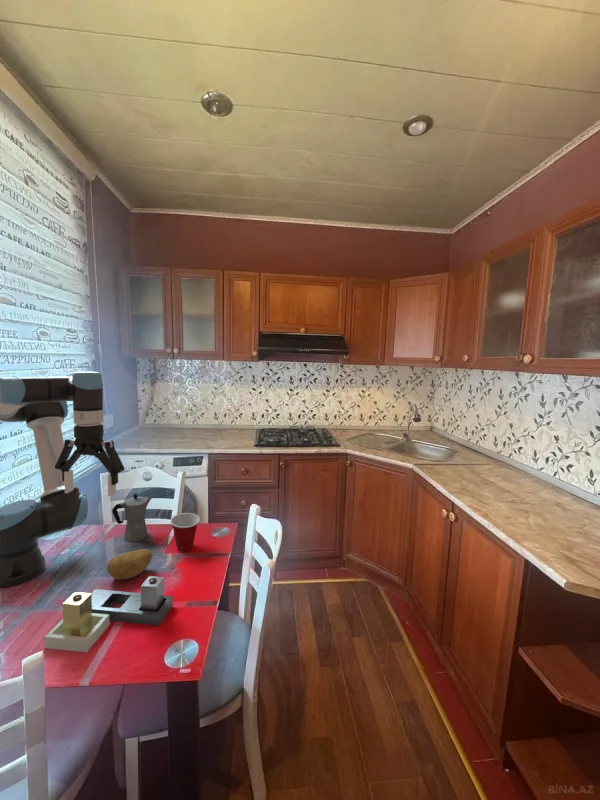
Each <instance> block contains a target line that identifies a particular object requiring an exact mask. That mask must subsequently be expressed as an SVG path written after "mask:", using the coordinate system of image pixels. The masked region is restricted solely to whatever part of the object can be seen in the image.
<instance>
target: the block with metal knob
mask: <svg viewBox="0 0 600 800" xmlns="http://www.w3.org/2000/svg"><path fill="white" fill-rule="evenodd" d="M62 619H63V630H64V635H67V636H77V637H85V636H86V635H87V634H88V633H89V632H90V630H91V629H92V592H80V591H79V592H78V591H75V592H74V593H72V594H71V595H70V596H69V597H68V598H67V599H66V600H65V601H64V602H63V603H62Z"/></svg>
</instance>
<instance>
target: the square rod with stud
mask: <svg viewBox="0 0 600 800" xmlns="http://www.w3.org/2000/svg"><path fill="white" fill-rule="evenodd" d="M140 593H141V611H151V612H158V611H159V610H160V608H161V607H162V605H163V604H164V595H165V577H164V576H153V575H149V576H147V578H146V579H145V580H144V582H143V583H142V584H141V585H140Z"/></svg>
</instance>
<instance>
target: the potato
mask: <svg viewBox="0 0 600 800" xmlns="http://www.w3.org/2000/svg"><path fill="white" fill-rule="evenodd" d="M152 559H153V552H152V551H150V550H149V549H144V548H141V549H137V550H132V551H127V552H125V553H122V554H119V555H116V556H114V557H112V558H111V559H110V560H108V563H107V568H106V569H107V573H108V575H109V576H111V577H112V578H113V579H116V580H123V581H124V580H129V579H134V578H135V577H136V576H138V575H139V574H141V573H142V572H143V571H145V569H147V567H148V566H149V565H150V564H151V561H152Z"/></svg>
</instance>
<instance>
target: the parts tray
mask: <svg viewBox="0 0 600 800" xmlns="http://www.w3.org/2000/svg"><path fill="white" fill-rule="evenodd" d="M109 627H110V621H109V615H108V614H97V613H92V629H91V630H90V632H89V633H88V634H87V635H86V636H85V637H77V636H67V635H64V630H63V618H62V619H61V620H60V621H59V622H58V623H57V624H55V626H54V627H52V629H51V630H49V632H48V633H47V634H46V635H45V636H44V648H45V649H51V650H58V651H61V650H62V651H70V652H81V653H88V652H89V651H90V650H91V648H92V647H93V646H94V645H95V643H97V640H99V639H100V637H101V636H102V634H104V633H105V631H106V630H107V629H108V628H109Z"/></svg>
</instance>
